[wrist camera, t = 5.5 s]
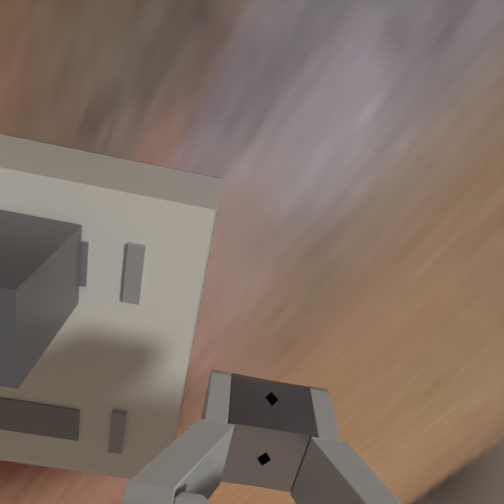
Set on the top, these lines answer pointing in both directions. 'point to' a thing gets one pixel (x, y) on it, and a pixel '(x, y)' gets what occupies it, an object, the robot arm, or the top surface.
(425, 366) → the top surface
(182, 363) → the switch housing
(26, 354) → the tab
